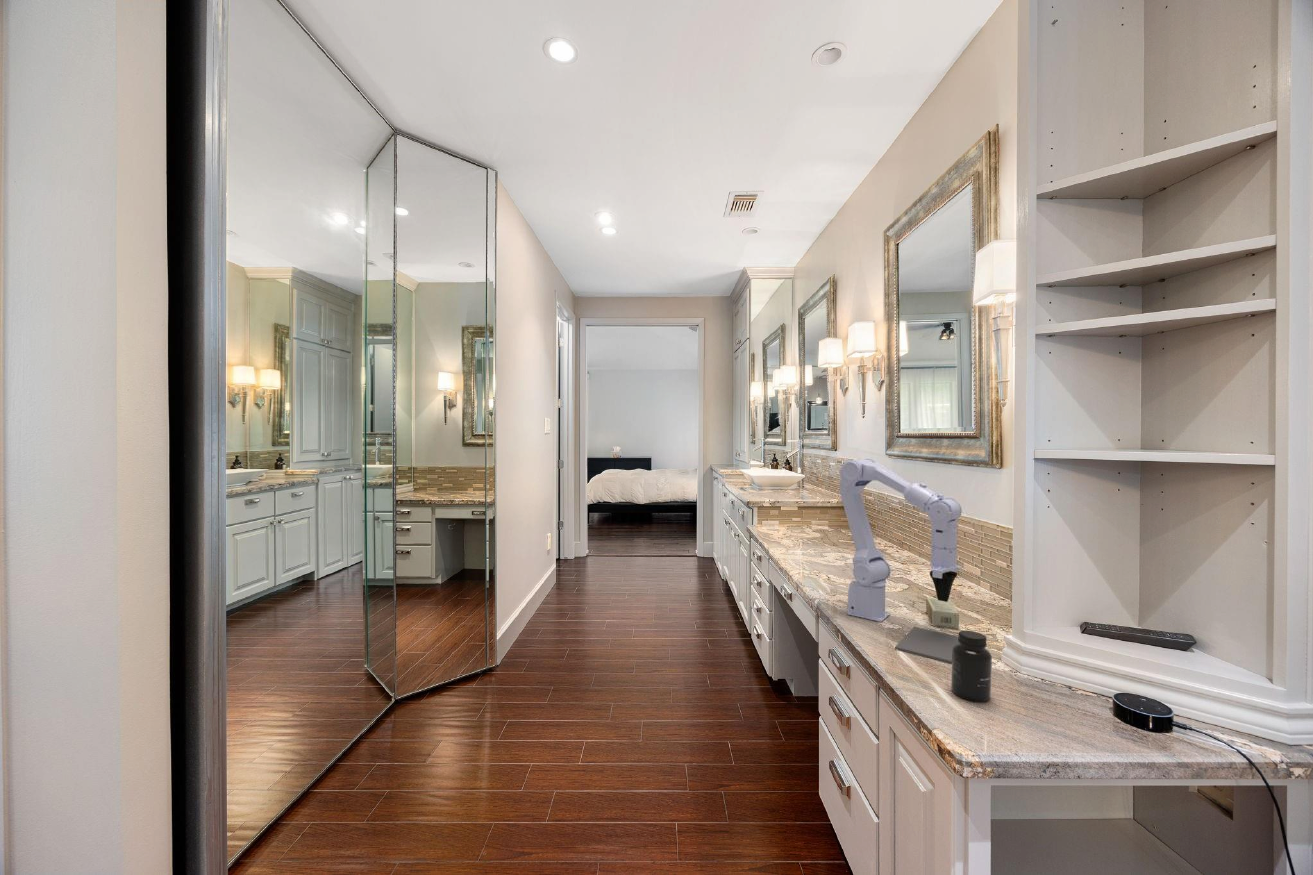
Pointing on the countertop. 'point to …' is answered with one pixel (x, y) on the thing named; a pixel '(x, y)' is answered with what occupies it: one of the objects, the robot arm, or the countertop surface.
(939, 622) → the skincare box
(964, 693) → the supplement bottle
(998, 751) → the countertop surface
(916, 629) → the mat
